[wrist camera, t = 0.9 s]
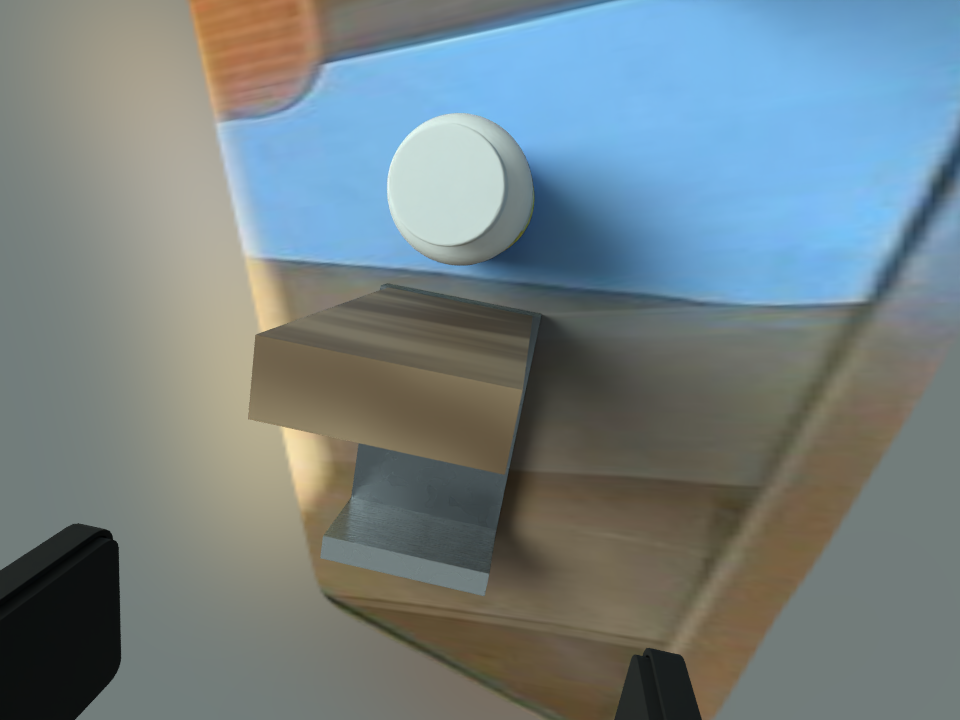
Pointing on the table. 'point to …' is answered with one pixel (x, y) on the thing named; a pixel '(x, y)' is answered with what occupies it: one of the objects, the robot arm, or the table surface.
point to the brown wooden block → (398, 376)
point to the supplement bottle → (460, 189)
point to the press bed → (423, 508)
